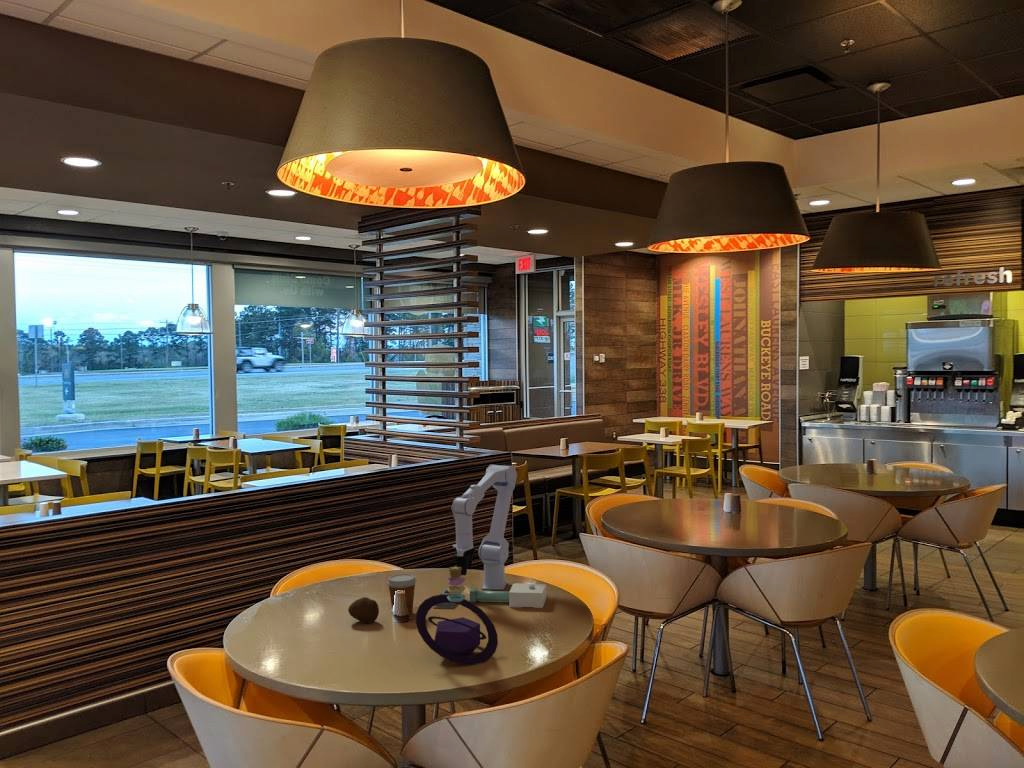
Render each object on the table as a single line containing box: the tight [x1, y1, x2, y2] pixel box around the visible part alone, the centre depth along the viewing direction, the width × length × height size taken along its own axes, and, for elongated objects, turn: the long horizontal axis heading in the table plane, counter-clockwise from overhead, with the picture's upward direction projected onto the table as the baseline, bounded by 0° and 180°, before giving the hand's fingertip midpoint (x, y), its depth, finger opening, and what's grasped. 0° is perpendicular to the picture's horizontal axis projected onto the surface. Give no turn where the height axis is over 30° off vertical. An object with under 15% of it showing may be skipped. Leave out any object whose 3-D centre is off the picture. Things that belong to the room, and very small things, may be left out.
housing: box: [508, 582, 547, 609], centre depth 268 cm, size 10×11×6 cm
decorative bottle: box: [415, 565, 499, 666], centre depth 223 cm, size 22×21×25 cm
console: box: [432, 588, 461, 610], centre depth 272 cm, size 15×7×2 cm, turn 171°
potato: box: [347, 596, 380, 624], centre depth 253 cm, size 7×10×8 cm
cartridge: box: [469, 587, 509, 603], centre depth 270 cm, size 3×15×4 cm, turn 81°
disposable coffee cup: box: [386, 573, 417, 616], centre depth 260 cm, size 10×10×12 cm
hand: (465, 571), depth 272 cm, fingers open, 7 cm apart
